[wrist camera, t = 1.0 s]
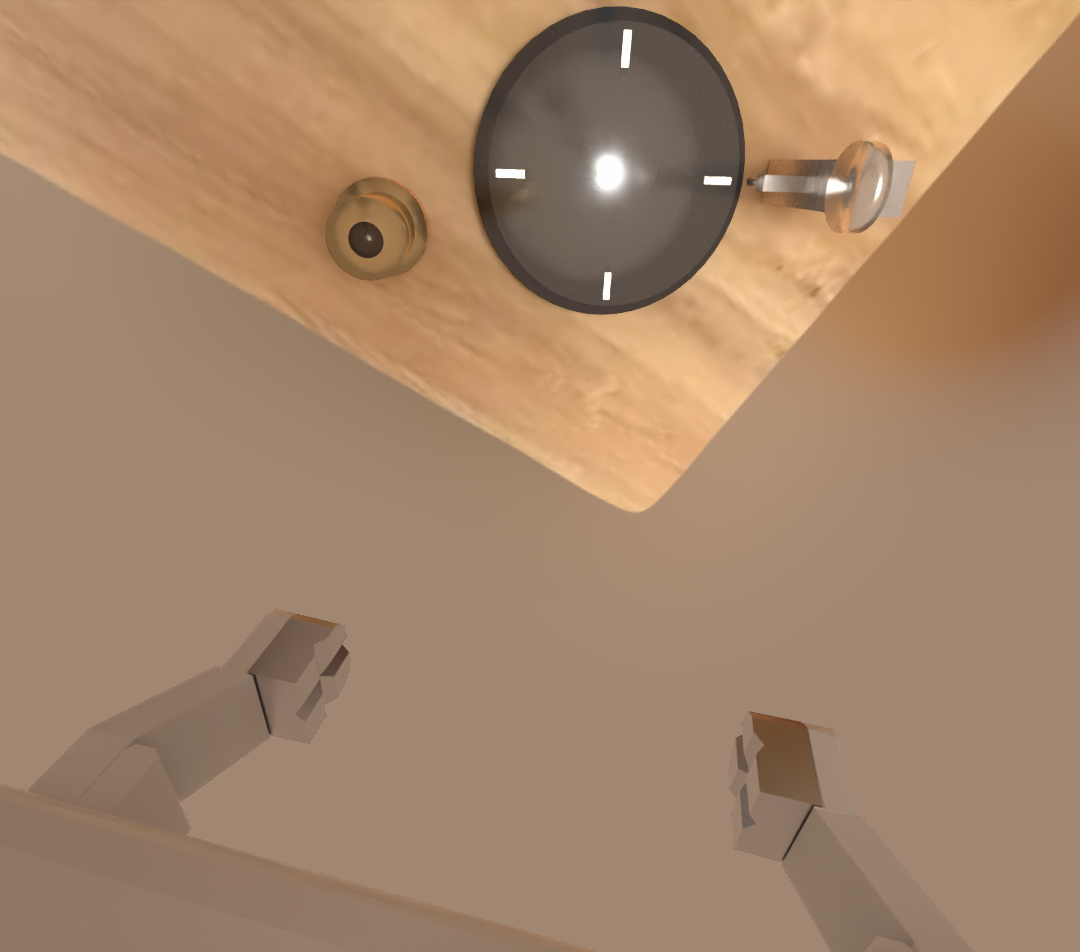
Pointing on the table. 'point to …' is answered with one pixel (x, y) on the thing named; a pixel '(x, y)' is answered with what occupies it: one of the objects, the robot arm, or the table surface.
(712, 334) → the table surface
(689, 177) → the turntable platter
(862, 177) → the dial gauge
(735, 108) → the turntable base
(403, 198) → the brass hub
